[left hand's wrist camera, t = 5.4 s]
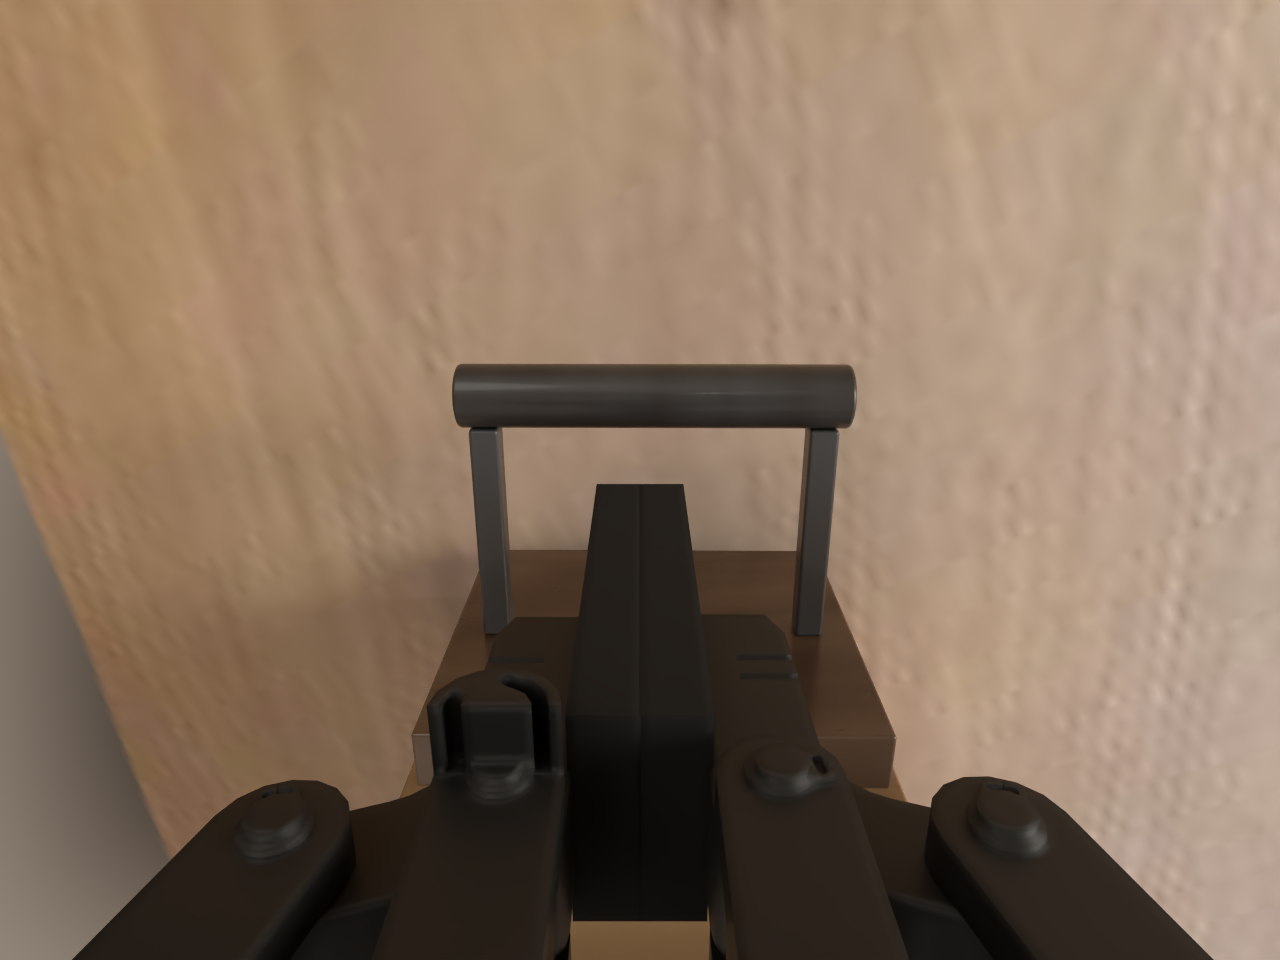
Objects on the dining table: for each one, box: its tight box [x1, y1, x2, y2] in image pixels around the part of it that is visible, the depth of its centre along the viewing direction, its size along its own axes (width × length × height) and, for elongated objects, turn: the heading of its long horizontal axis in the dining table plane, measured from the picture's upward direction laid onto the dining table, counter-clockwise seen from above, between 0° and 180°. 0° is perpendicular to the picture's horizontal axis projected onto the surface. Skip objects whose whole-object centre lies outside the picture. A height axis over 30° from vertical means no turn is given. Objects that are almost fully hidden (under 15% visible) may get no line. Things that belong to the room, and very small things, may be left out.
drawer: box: [412, 364, 896, 788], centre depth 21 cm, size 22×9×8 cm, turn 0°
